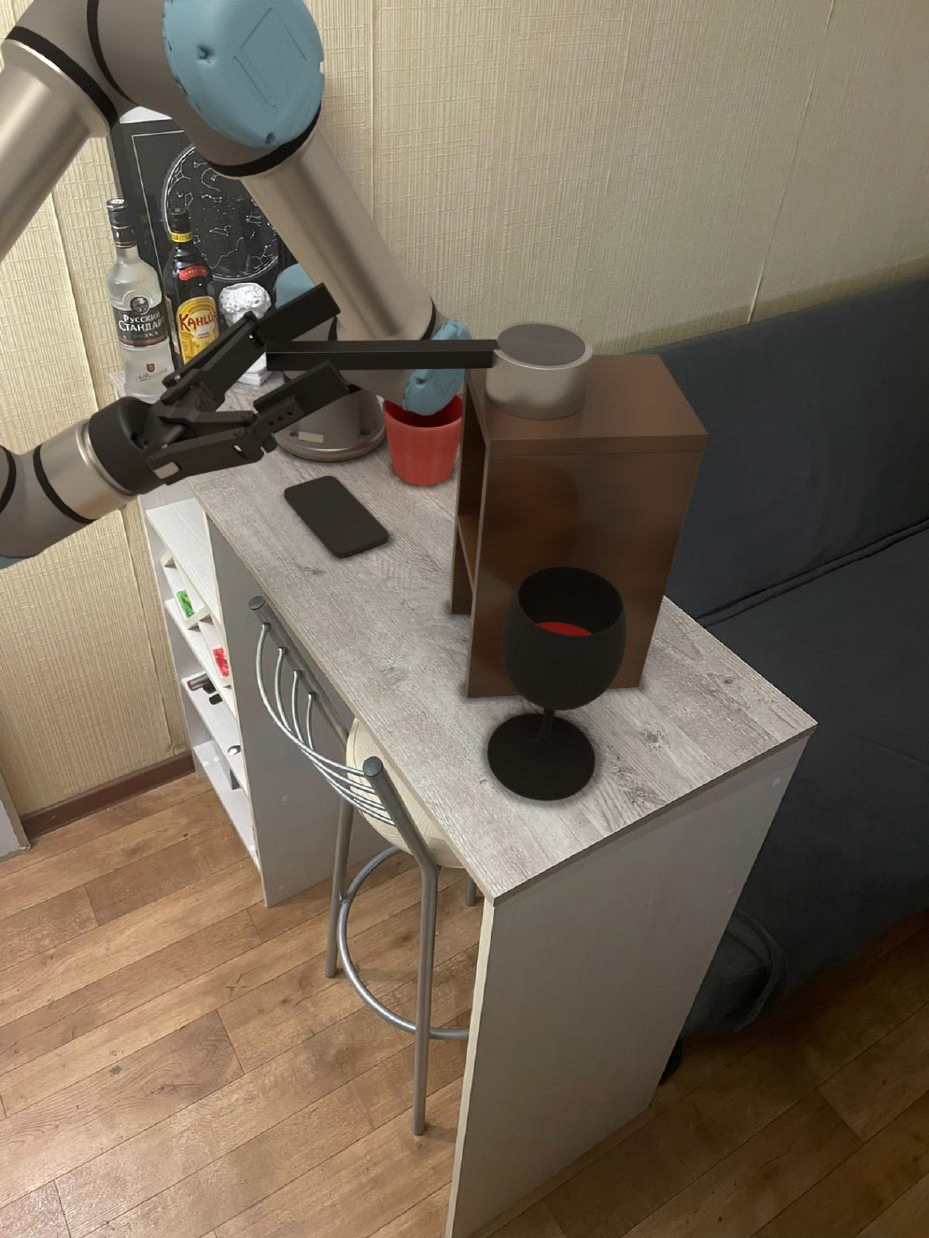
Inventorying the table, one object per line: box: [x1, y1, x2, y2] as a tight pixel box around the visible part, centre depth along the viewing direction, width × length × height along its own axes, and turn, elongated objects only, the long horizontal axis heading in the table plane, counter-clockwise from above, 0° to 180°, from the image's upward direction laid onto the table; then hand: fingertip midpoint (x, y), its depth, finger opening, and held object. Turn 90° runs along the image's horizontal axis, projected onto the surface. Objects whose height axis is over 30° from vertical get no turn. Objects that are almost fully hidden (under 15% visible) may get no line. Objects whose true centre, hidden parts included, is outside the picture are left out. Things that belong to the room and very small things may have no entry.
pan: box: [264, 320, 594, 420], centre depth 74 cm, size 26×8×5 cm, turn 98°
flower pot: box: [382, 392, 463, 487], centre depth 118 cm, size 11×11×10 cm
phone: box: [283, 475, 389, 558], centre depth 112 cm, size 7×1×15 cm
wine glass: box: [486, 565, 626, 801], centre depth 80 cm, size 10×10×20 cm
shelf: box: [448, 353, 709, 699], centre depth 88 cm, size 18×14×30 cm
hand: (335, 334), depth 71 cm, fingers open, 13 cm apart
